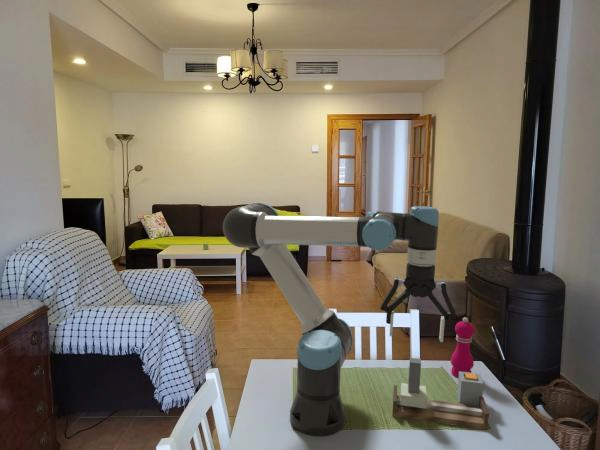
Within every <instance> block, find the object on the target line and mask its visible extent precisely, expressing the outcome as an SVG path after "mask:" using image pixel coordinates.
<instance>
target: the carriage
mask: <svg viewBox="0 0 600 450" xmlns="http://www.w3.org/2000/svg"><path fill="white" fill-rule="evenodd" d="M408 366H409V368H408V383H404V382H400V405H404V406H411V407H418V408H425V409H426V405H427V399H428V397H427V386H426V385H422V384H421V373H422V372H421V370H422V359H421V358H414V357H409V365H408Z"/></svg>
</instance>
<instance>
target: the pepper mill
mask: <svg viewBox="0 0 600 450" xmlns="http://www.w3.org/2000/svg"><path fill="white" fill-rule="evenodd" d="M454 332H455V333H456V337H455V340H456V342H457V343H456V348H455V350H454V351H453V353H452V355H451V358H450V364H451V366H452V367H451V375H452V376H454V377H456V378H459V371H460V372H469V373H472V369H473V367H474V365H475V364H474V363H475V361H474V358H473V355H472V353H471V349H470V348H471V347H470V346H471V343H472V341H473V335H474V334H475V327H474V325H473V323H471V322H469V319H468V317H463V318H462V321H461V320H460V321H458V322H457V323H456V325H455V327H454Z"/></svg>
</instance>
